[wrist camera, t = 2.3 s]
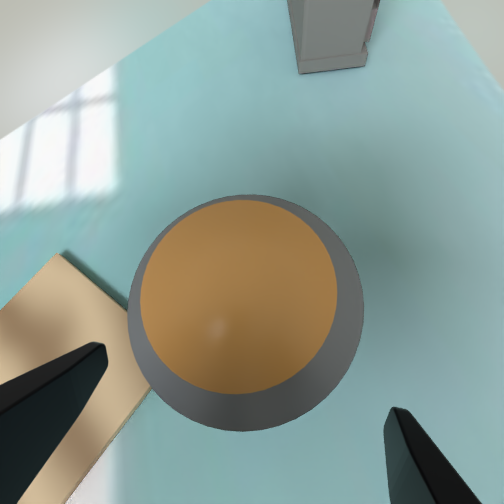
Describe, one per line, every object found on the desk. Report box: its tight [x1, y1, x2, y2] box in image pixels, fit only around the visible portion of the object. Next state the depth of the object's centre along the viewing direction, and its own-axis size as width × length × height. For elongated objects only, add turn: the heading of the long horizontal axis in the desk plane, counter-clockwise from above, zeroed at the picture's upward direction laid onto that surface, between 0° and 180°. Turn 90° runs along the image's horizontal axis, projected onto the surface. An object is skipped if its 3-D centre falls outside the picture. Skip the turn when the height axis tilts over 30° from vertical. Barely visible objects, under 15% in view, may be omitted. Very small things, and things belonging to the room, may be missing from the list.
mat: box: [0, 253, 152, 504], centre depth 19 cm, size 12×12×1 cm
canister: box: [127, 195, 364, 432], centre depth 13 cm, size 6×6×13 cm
